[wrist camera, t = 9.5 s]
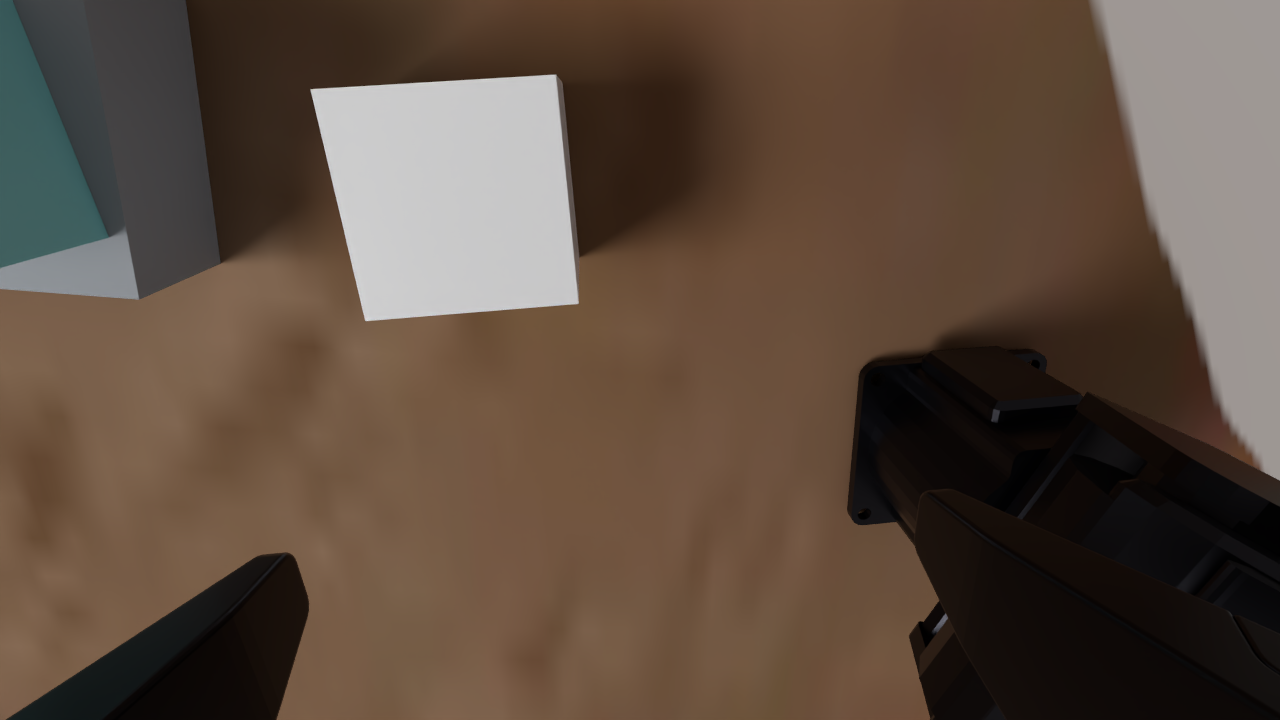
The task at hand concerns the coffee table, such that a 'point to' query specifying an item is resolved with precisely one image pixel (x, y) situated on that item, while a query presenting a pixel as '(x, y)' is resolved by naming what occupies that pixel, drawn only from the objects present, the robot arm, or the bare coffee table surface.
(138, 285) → the slate base block
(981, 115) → the coffee table surface
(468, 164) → the white block
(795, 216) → the coffee table surface
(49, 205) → the teal block
